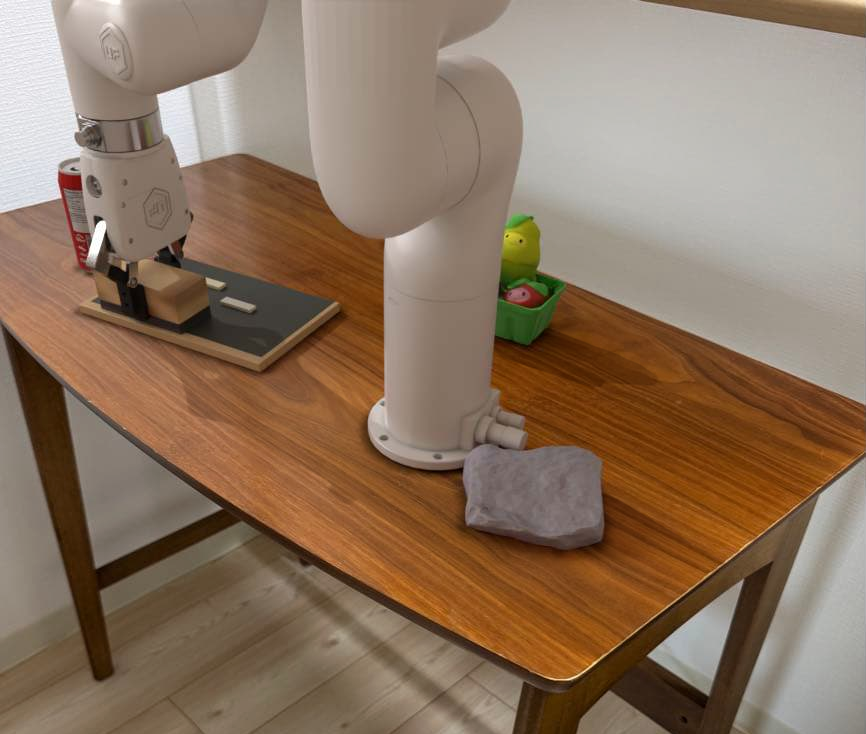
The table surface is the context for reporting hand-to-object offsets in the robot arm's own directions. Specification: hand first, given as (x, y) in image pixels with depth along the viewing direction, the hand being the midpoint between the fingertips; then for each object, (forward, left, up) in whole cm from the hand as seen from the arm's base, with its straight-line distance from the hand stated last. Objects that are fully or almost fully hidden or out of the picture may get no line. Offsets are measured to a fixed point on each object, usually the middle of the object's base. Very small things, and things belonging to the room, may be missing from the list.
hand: (154, 304), depth 97 cm
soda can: (+14, -7, -2) cm, 16 cm away
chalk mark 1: (-1, -8, -1) cm, 8 cm away
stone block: (-48, +10, -2) cm, 49 cm away
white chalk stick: (-7, -5, -1) cm, 9 cm away
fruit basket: (-33, -19, -2) cm, 38 cm away
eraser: (0, 0, -1) cm, 1 cm away
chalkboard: (-4, -4, -2) cm, 6 cm away
